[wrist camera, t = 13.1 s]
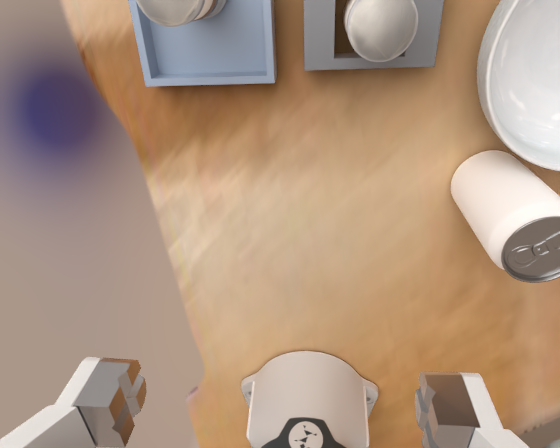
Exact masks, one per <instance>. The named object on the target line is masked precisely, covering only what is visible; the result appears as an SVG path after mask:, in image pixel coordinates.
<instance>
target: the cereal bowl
mask: <svg viewBox="0 0 560 448" xmlns="http://www.w3.org/2000/svg"><path fill="white" fill-rule="evenodd" d="M477 88H478V94H479V100H480V105H481V107H482V109H483V113H484V115H485V117H486V119H487V121H488V123H489V125H490V126H491V128H492V129H493V131H494V132H495V134H496V135H497V136H498V137H499V139H500V140H501V141H502V142H503V143H504V144H505V145H506V146H507V147H508V148H509V149H510V150H511V151H513V152H514V153H515V154H517V155H518V156H520V157H521V158H523V159H525V160H526V161H528V162H530V163H532V164H535V165H537V166H540V167H543V168H547V169H550V170H555V171H560V0H501V1H500V3H499V4H498V5H497V7H496V10H495V11H494V13H493V16H492V17H491V19H490V21H489V24H488V26H487V27H486V32H485V34H484V35H483V40H482V42H481V48H480V51H479V56H478V63H477Z"/></svg>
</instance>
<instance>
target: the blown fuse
mask: <svg viewBox="0 0 560 448" xmlns="http://www.w3.org/2000/svg"><path fill="white" fill-rule="evenodd" d="M227 1H228V0H136V2H137V4H138V6H139V7H140V9H141V10H142V12H143V13H144V14H145V15H146V16H147V17H148V18H149V19H150V20H152V21H153V22H155V23H157V24H159V25H161V26H165V27H178V26H182V25H185V24H188V23H190V22H192V21H196V20H200V19H206V18H210V17H213V16H215V15H217V14H219V13H220V12H221V11H222V10H223V8H224V7H225V5H226V3H227Z"/></svg>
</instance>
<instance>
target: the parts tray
mask: <svg viewBox="0 0 560 448" xmlns="http://www.w3.org/2000/svg"><path fill="white" fill-rule="evenodd" d="M128 2H129V7H130V12H131V16H132V21H133V26H134V31H135V36H136V41H137V46H138V51H139V55H140V60H141V65H142V70H143V75H144V80H145V85H146V86H182V85H219V84H257V83H275V81H276V79H277V60H276V37H275V15H274V0H228V1H227V3H226V5H225V7H224V8H223V10H222V11H221V12H220V13H219V14H217V15H215V16H213V17H210V18H206V19H200V20H196V21H192V22H190V23H188V24H185V25H182V26H178V27H165V26H161V25H159V24H157V23H155V22H153V21H152V20H150V19H149V18H148V17H147V16H146V15H145V14H144V13H143V12H142V10H141V9H140V7H139V6H138V4H137V2H136V0H128Z"/></svg>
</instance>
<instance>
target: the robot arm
mask: <svg viewBox="0 0 560 448" xmlns="http://www.w3.org/2000/svg"><path fill="white" fill-rule="evenodd" d="M140 369H141V367H140V364H139V362H138V360H126V359H113V358H95V357H87V358H86V359H84V360H83V361H82V362H81V363H80V365H79V367H78V368H77V370H76V371H75V373H74V374H73V376H72V378H71V379H70V381H69V382H68V384H67V385H66V387H65V389H64V390H63V392H62V393H61V395H60V396H59V398H58V400H57V401H56V403H55V404H54V405H49V406H47V407H46V408H45V409H43V410H41V411H40V412H39V413H37V414H36V415H34V416H33V417H32V418H30V419H29V420H27V421H26V422H25V423H23V424H22V425H20V426H19V427H17V428H16V429H14V430H13V431H12V432H10V433H9V434H7V435H6V436H4V437H3V438H2V439H0V448H96V447H119V448H125V446H126V444H127V442H128V440H129V437H130V435H131V433H132V430H133V428H134V426H135V425H134V422H133V417H134V416H135V415H136V414H138V413H139V412H140V411H141V409H142V406H143V404H144V401H145V395H146V383H145V379H144V378H143V377H142V376H141V375H140V374H138V373H139V371H140ZM419 384H420V388H419V389H418V390H416V396H415V411H416V418H417V423H418V426H419V427H420V428H421V429H422V431H423V432H424V433H423V438H422V445H423V448H530V447H528V446H527V445H526V444H525V443H524V442H523V441H522V440H521V439H520V438H518V437H517V436H516V435H515V434H514V433H513V432H512V431H511V430H507V429H504V428H503V426H502V424H501V421H500V419H499V417H498V414H497V412H496V410H495V407H494V405H493V402H492V400H491V398H490V395H489V393H488V391H487V388H486V386H485V383H484V381H483V379H482V376H481V375H480V374H479V373H461V372H459V373H458V372H440V371H421V373H420V375H419ZM241 391H242V393H243V395H244V398H245V400H246V402H247V404H248V407H249V418H248V426H247V439H248V440H249V441H250V445H251V447H252V448H369V430H368V418H369V415H370V413H371V411H372V409H373V407H374V404H375V402H376V400H377V398H378V387H377V386H376V385H375V384H374V383H372V382H370V381H368V380H366V379H364V378H362V377H361V376H360V375H359V374H358V373H357V372H356V371H355V370H354V369H353V368H352V367H351V366H350V365H349V364H347V363H346V362H344V361H343V360H341V359H339V358H337V357H334V356H332V355H329V354H325V353H321V352H314V351H297V352H290V353H286V354H283V355H280V356H277V357H275V358H273V359H272V360H270V361H269V362H267V363H266V364H265V365H264V366H263V367H262V368H261V369H260V371H258V372H257V373H256V374H253V375H251V376H248V377H246V378H245V379H243V380H242V382H241Z"/></svg>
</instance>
